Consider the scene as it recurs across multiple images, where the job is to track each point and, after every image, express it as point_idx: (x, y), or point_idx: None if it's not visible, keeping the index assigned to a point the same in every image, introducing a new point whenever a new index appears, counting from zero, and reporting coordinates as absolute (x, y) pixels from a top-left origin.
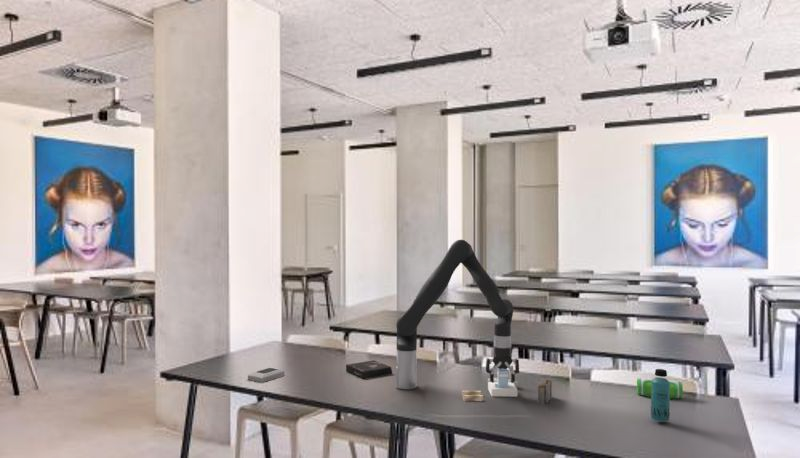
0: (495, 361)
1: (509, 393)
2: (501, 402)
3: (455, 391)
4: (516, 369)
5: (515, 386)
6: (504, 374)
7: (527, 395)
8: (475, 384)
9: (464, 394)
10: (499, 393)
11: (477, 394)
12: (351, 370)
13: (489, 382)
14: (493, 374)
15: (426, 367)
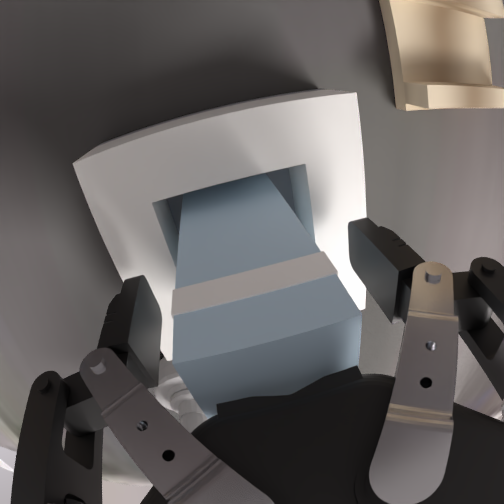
0: (494, 451)
1: (159, 126)
2: (230, 5)
3: (491, 209)
4: (53, 415)
5: (161, 365)
6: (237, 296)
7: (55, 254)
8: (384, 347)
9: (492, 86)
10: (261, 101)
11: (432, 83)
12: None
13: (356, 301)
14: (399, 276)
15: (464, 405)
